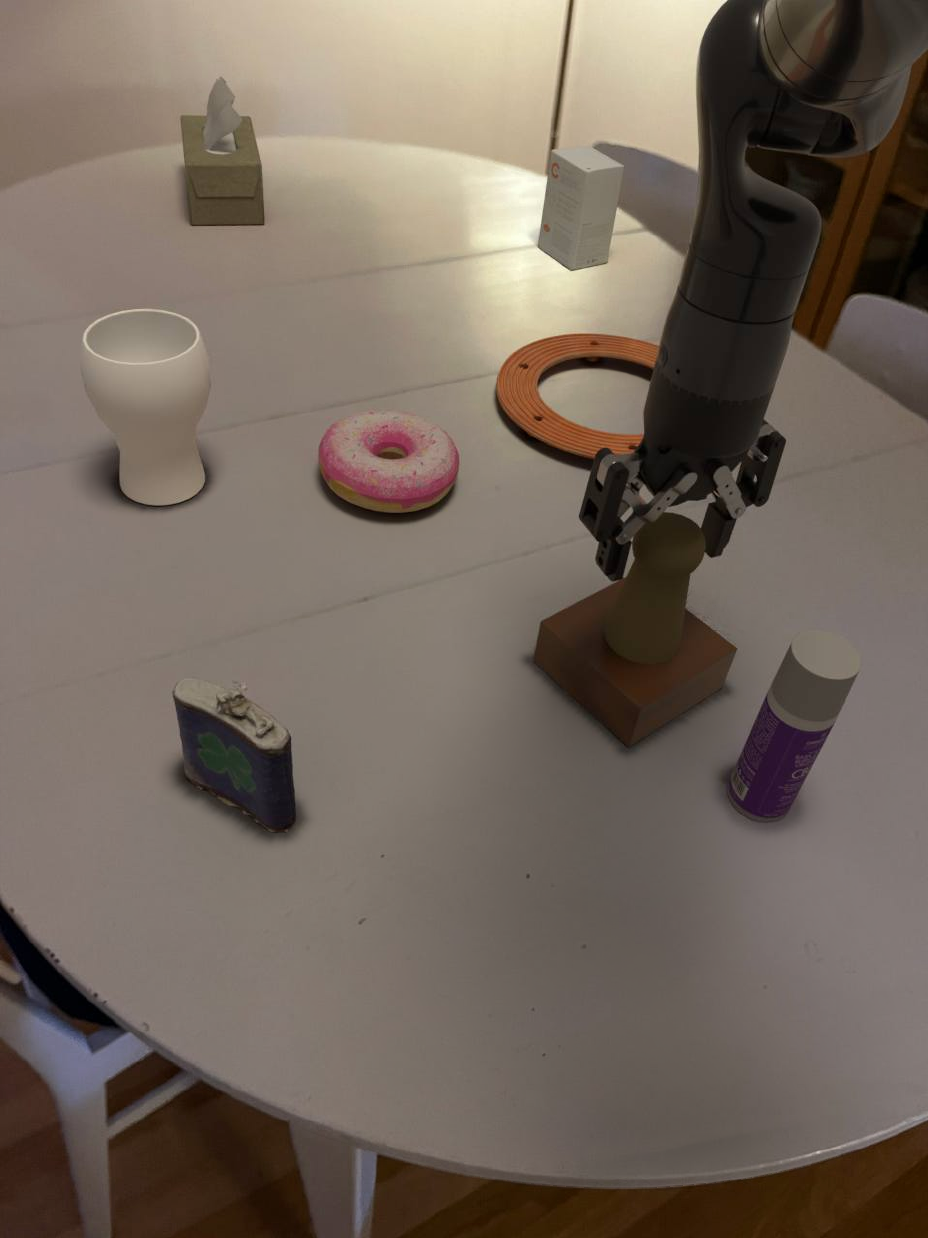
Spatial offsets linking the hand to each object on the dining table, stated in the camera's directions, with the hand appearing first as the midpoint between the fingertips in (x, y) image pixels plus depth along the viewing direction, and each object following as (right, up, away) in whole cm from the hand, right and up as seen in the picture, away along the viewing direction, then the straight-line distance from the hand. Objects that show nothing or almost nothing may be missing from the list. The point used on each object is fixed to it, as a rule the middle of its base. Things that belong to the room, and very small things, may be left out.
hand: (660, 561), depth 75 cm
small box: (0, +46, +65) cm, 80 cm away
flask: (-30, -17, -3) cm, 34 cm away
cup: (-43, +9, +21) cm, 49 cm away
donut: (-22, +9, +24) cm, 34 cm away
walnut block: (-1, -9, +8) cm, 12 cm away
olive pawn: (0, -6, +5) cm, 8 cm away
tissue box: (-48, +55, +69) cm, 101 cm away
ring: (+2, +19, +38) cm, 42 cm away
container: (+7, -17, 0) cm, 19 cm away
